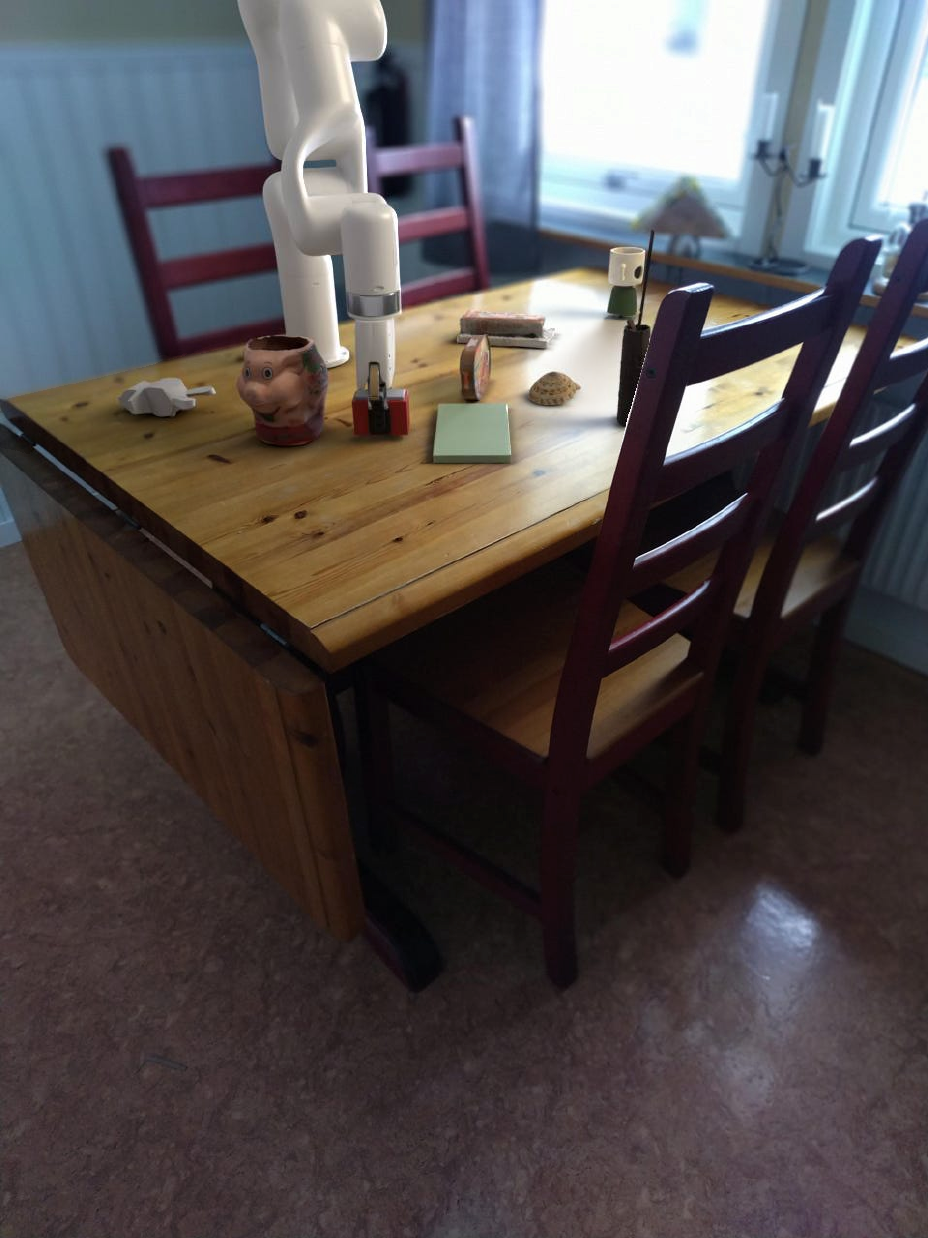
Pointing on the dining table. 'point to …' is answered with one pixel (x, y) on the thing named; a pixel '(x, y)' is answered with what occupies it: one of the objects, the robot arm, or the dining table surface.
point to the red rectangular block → (396, 403)
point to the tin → (475, 367)
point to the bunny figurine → (161, 397)
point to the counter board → (472, 434)
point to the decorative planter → (284, 388)
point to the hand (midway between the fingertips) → (382, 425)
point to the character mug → (625, 279)
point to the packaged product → (505, 329)
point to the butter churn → (633, 353)
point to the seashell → (553, 389)
